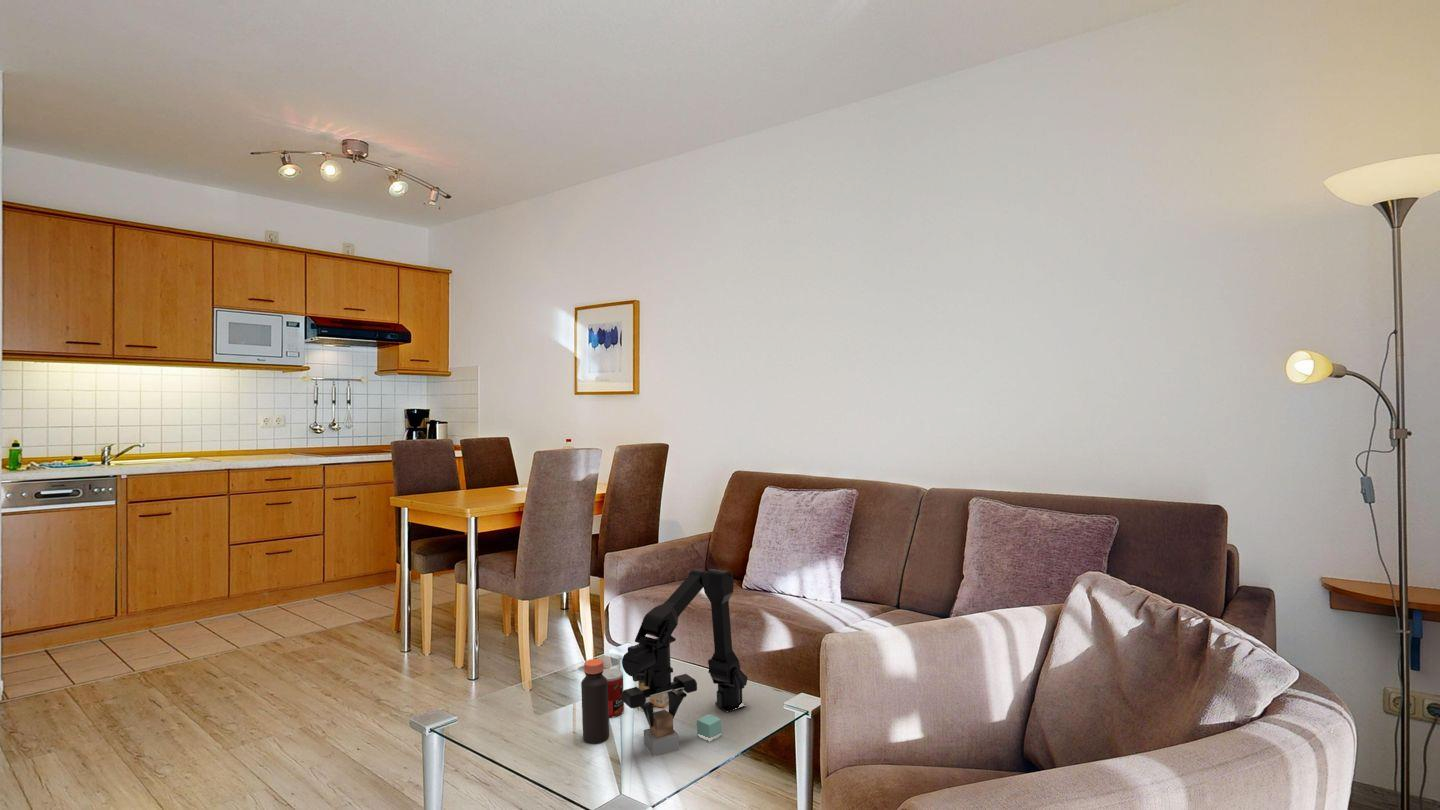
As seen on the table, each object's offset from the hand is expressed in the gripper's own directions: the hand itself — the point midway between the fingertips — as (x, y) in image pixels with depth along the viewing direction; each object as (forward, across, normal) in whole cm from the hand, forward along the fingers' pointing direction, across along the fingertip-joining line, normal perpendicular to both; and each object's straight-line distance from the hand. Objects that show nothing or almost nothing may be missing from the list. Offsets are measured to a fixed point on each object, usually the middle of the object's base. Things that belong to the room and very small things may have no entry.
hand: (660, 723), depth 189 cm
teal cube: (+6, -13, +2) cm, 14 cm away
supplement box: (+6, -10, -24) cm, 27 cm away
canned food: (+6, +3, -26) cm, 27 cm away
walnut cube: (+2, 0, 0) cm, 2 cm away
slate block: (+6, 0, 0) cm, 6 cm away
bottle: (+6, +12, -14) cm, 19 cm away
